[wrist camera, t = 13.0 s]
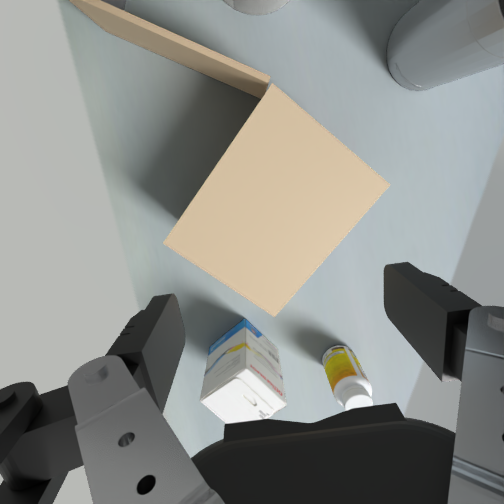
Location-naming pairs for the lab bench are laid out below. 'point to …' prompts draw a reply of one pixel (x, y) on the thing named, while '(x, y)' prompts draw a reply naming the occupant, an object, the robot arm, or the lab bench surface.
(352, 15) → the lab bench surface
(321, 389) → the lab bench surface
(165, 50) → the carton flap
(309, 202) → the carton
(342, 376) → the supplement bottle
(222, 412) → the ink box
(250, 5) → the toilet paper roll
